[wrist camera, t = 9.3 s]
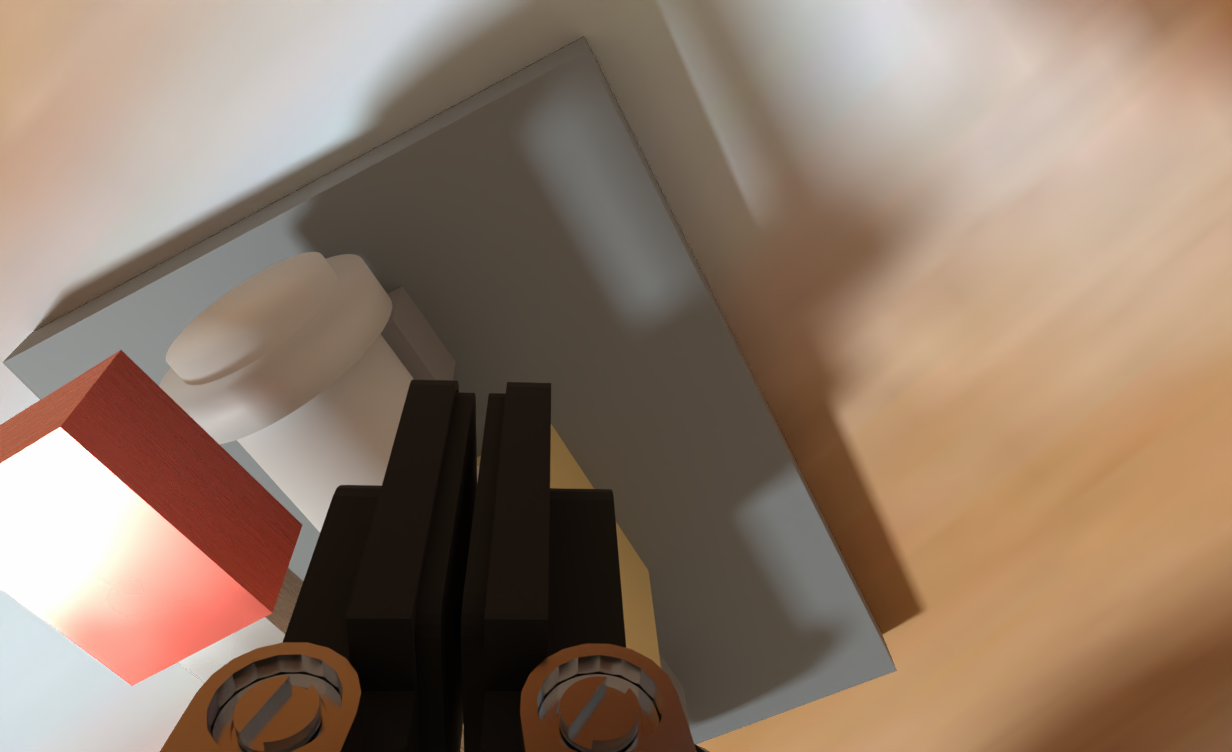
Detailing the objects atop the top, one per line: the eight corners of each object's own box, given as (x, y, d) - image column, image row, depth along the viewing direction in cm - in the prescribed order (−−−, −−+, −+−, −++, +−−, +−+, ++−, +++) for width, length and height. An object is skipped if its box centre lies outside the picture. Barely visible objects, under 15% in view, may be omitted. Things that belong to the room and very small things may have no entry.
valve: (882, 635, 32) (992, 911, 24) (476, 788, 35) (454, 1078, 27) (584, 36, 21) (605, 177, 13) (31, 332, 24) (-224, 593, 16)
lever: (600, 806, 20) (604, 899, 18) (484, 854, 21) (478, 948, 19) (126, 346, 14) (66, 423, 12) (-20, 437, 14) (-96, 522, 13)
